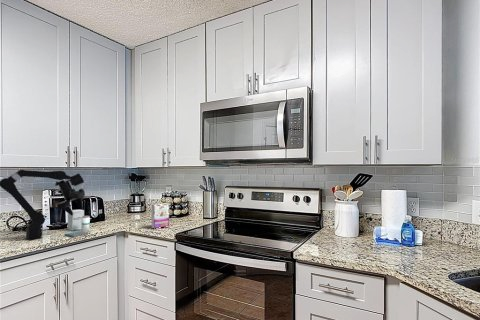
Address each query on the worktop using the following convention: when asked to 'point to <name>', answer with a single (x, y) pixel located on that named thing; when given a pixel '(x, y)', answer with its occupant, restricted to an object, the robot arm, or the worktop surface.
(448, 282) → the worktop surface
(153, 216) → the candy bar box
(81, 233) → the mat
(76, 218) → the supplement box
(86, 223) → the cartridge
